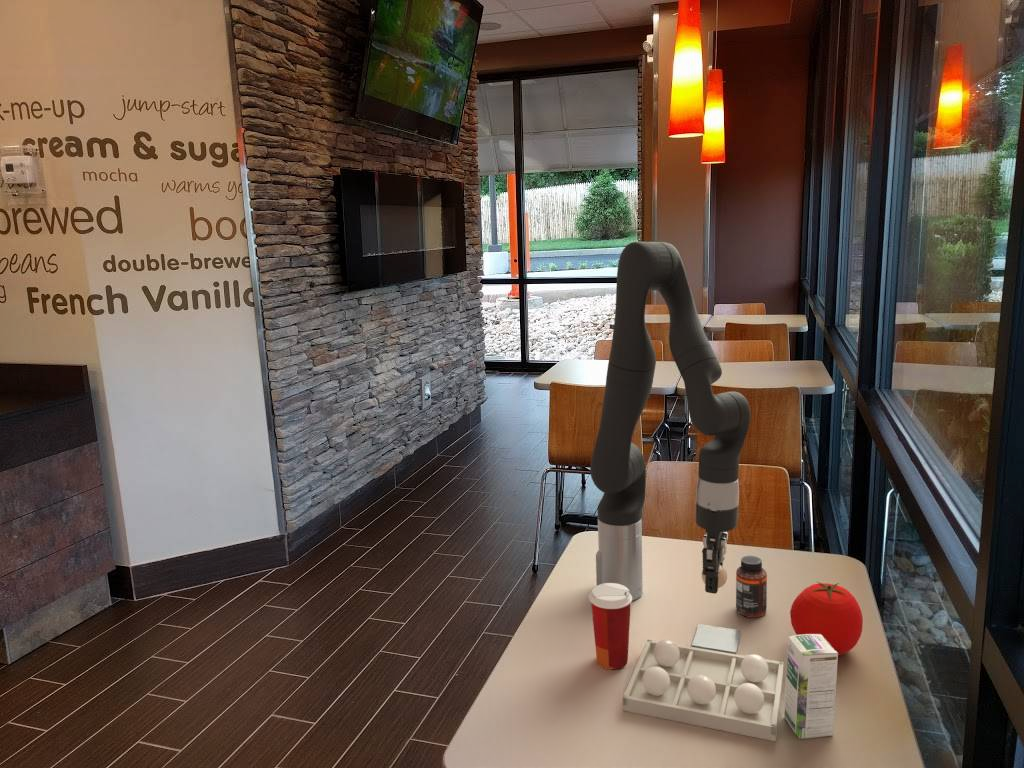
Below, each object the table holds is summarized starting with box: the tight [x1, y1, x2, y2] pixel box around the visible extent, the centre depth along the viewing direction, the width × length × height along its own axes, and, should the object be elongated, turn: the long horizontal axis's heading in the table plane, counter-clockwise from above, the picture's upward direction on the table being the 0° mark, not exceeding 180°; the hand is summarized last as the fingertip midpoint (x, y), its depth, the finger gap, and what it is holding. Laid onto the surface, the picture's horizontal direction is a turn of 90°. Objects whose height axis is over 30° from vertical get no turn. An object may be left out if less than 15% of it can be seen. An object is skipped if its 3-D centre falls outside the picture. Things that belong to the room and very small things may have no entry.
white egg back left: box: [654, 639, 680, 667], centre depth 137 cm, size 5×5×5 cm
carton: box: [622, 639, 785, 742], centre depth 131 cm, size 24×18×6 cm
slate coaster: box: [691, 623, 742, 654], centre depth 147 cm, size 8×8×1 cm
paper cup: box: [588, 583, 633, 670], centre depth 140 cm, size 8×8×14 cm
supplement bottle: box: [735, 555, 768, 618], centre depth 155 cm, size 6×6×11 cm
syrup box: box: [783, 634, 839, 740], centre depth 120 cm, size 6×6×14 cm
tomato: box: [789, 581, 864, 656], centre depth 141 cm, size 12×12×13 cm
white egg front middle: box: [687, 675, 716, 705], centre depth 127 cm, size 5×5×5 cm
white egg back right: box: [740, 653, 769, 683], centre depth 132 cm, size 5×5×5 cm
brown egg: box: [701, 565, 728, 589], centre depth 144 cm, size 5×5×5 cm
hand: (713, 585), depth 144 cm, fingers closed on brown egg, 4 cm apart
